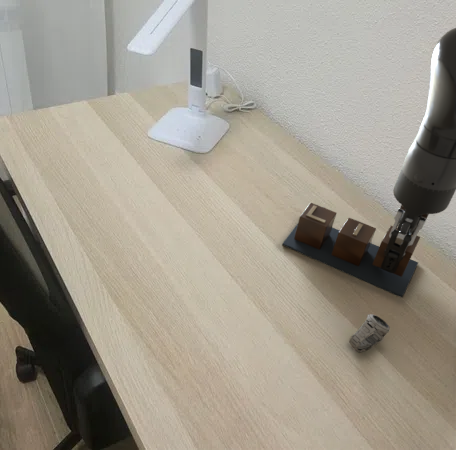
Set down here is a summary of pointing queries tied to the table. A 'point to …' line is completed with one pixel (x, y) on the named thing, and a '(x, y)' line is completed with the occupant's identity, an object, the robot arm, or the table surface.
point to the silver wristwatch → (369, 333)
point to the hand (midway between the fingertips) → (392, 259)
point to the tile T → (406, 258)
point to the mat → (362, 271)
